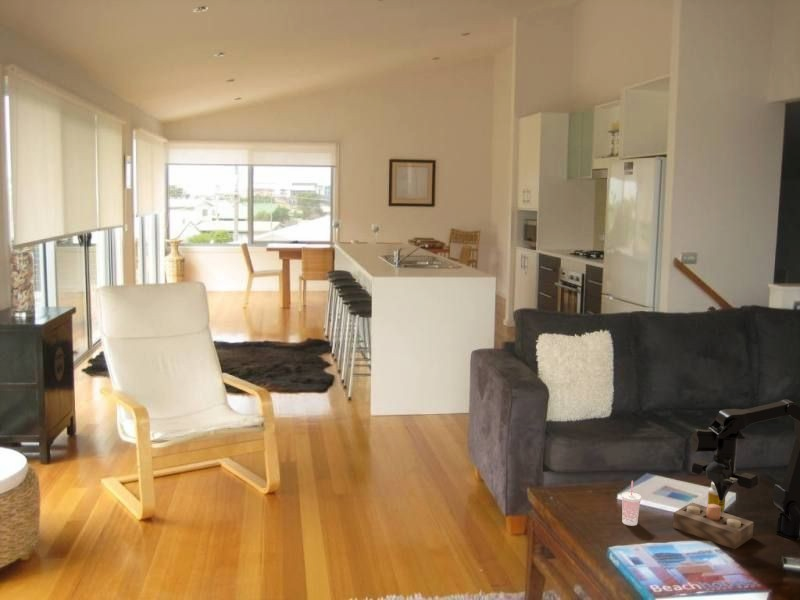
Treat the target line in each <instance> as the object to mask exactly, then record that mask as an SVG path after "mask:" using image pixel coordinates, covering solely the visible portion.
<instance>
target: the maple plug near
mask: <svg viewBox="0 0 800 600" xmlns="http://www.w3.org/2000/svg"><path fill="white" fill-rule="evenodd" d="M726 525H728V526H731V527H734V528H737V529H738V528H740V527H741V522H740V521H739V520H736V519H727V524H726Z"/></svg>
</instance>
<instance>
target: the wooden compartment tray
mask: <svg viewBox="0 0 800 600" xmlns="http://www.w3.org/2000/svg"><path fill="white" fill-rule="evenodd" d="M688 506H696V507H699V508H700V514H698V515H695V514H692V513H689V512H687V507H688ZM706 514H707V506H705V505H701V504H698V503H695V502H689V504H686V505H685V506H683V507H681V508H680V509H677V510H676V511H674V512H673V519H672V529H677V530H679V531H682V532H684V533H688V534H689V535H693V536H696V537H698V538H702V539H705V540H706V541H710V542H713V543H715V544H719V545H721V546H724V547H726V548H727V547H728V548H730V549H733V550H736V549H737V548H739V547H741V546H742V545H744V544H745V543H746V542H748V541H749V540H750V539H752V538H753V535H754V521H751V520H748V519H746V518H742V517H738V516H735V515H733V514H729V513H728V512H727V513H726V512H725V511H724V512H721V513H720V520H719V521H718V522H716V521H713V520H710V519H707V518H706ZM727 519H736V520H739V521H740V522H741V527H740V528H738V529H737V528H734V527H731V526H728V525H726V524H727Z"/></svg>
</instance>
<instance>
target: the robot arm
mask: <svg viewBox="0 0 800 600" xmlns="http://www.w3.org/2000/svg"><path fill="white" fill-rule="evenodd" d="M787 416H789V417H790V418H792V419H793V420H794V426H793V427H794V433H795V439H794V444H793V448H792V450H791V454H790V457H789V461H788V465H787V469H786V471H785V472H786V473H785V475H784V479H783V481H782V482H781V483H780V484H774V485H773V490H772V493H771V497H772V502H773V504H774V506H776V509H777V511H778V512H780V513H779V516H778V517H777V521H776V522H777V523H776V531H775V534H776V535H777V536H782V537H785V538H788V539H791V540H794V541H798V540H800V406H798V405H797V404H796V403H795V402H793V401H791V400H790V399H781V400H780V401H779V400H778V401H777V402H776V401H775V402H771V403H768V404H764V405H763V404H762V405H759V406H755V407H750V408H744V409H742V408H725V409H721V410H719V411H718V413H717V414H716V417H715V418H714V420H713V421H712V422H710V424H709V425H708V426H707V429H700V428H695V429H694V432H692V435H691V437H690V438H689V439H690V440H689V441H690V447H691V450H692V452H693V453H714V452H715V454H713V457H712V461H711V462H709V461H706V460H703V459H702V460H701V459H699V460H697V461H695V462H693V463H691V466H690V472H691V473H694V474H697V475H701V474H703V472H704V473H705V475H706V479H707V480H709V481H711V482H713V483H714V484H715V487H716V489H717V493H718V496H719V500H720V501H723V500H724V498H725V499H726V496H727V494H728V493H729V491H730V490H731V489H732V486H734V485H736V484H738V486H739V487H742V488H745V489H748V490H749V489H750V490H751V489H753V488H754V487H756V486H757V485H759V478H758V476H757V475H756V474H752V473H749V472H743V473H742V474H738V473H735V472H737V467H736V459H738V454H737V448H738V440H745V439H746V437H745V436H744V435H743V434H742V433H741V431H743V430H745V429H747V427H749V426H751V425H752V424H753V425H754V424H756V423H760V422H762V423H763V422H766V421H770V420H774V419H778V418H783V417H787ZM721 428H722V429H721Z"/></svg>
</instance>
